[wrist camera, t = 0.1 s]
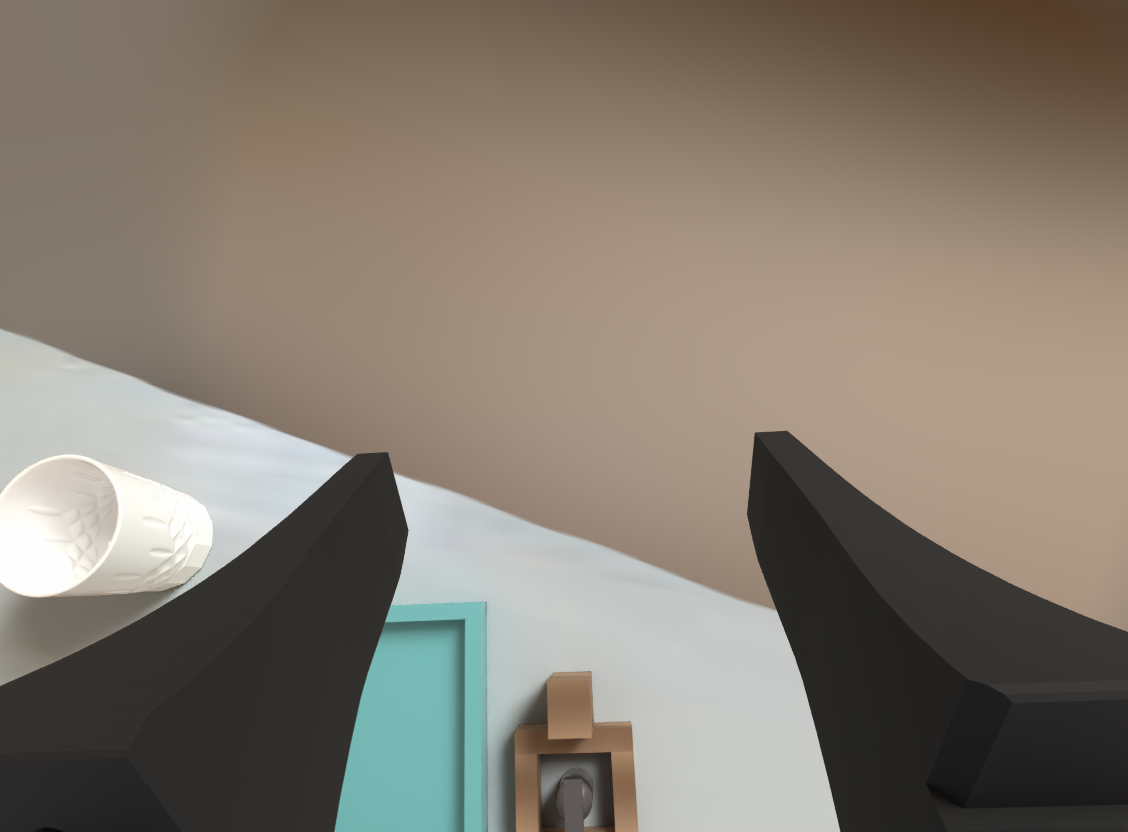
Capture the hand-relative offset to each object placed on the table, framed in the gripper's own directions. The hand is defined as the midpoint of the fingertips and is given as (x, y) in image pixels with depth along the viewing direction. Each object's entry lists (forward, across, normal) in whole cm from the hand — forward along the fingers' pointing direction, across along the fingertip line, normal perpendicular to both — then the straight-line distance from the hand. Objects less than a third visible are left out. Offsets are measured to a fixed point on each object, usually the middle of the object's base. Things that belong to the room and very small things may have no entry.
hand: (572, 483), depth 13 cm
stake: (+12, +2, +32) cm, 34 cm away
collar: (+13, +2, +31) cm, 34 cm away
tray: (+14, +13, +30) cm, 36 cm away
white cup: (+24, +30, +22) cm, 44 cm away
